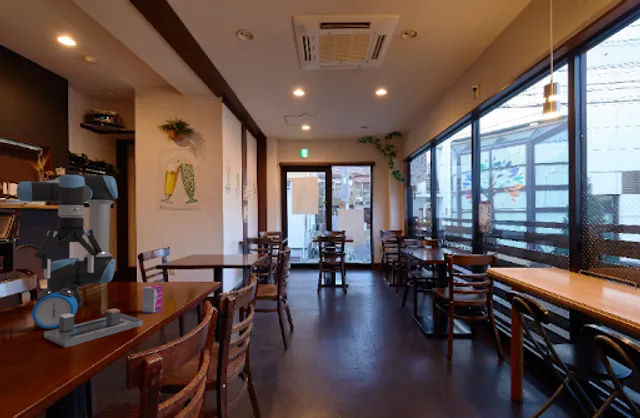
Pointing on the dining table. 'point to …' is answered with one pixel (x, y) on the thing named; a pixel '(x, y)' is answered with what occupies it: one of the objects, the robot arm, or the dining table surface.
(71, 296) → the alarm clock
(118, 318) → the fader terracotta
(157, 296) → the supplement box
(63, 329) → the fader white
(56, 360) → the dining table surface
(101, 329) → the console
